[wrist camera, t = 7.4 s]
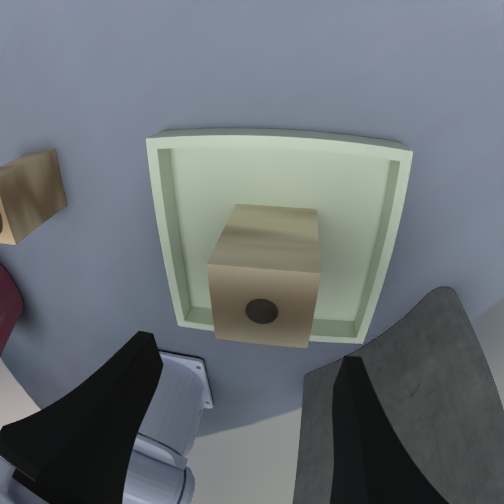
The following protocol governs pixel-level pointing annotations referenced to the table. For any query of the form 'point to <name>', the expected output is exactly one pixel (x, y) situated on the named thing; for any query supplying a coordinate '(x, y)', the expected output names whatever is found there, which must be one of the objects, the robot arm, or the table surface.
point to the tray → (284, 195)
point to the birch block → (266, 276)
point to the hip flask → (418, 406)
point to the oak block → (29, 194)
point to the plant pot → (8, 306)
